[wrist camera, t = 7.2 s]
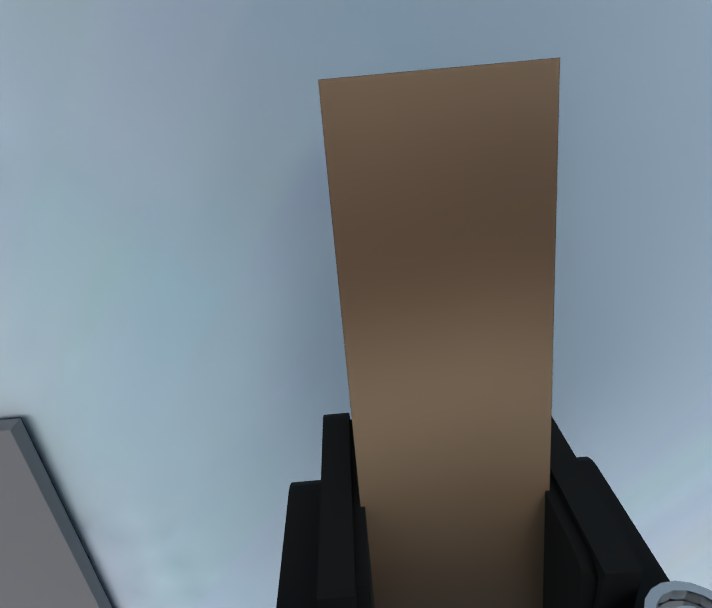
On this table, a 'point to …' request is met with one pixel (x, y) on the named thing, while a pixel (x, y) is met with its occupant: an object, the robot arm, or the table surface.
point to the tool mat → (38, 535)
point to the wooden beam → (448, 322)
